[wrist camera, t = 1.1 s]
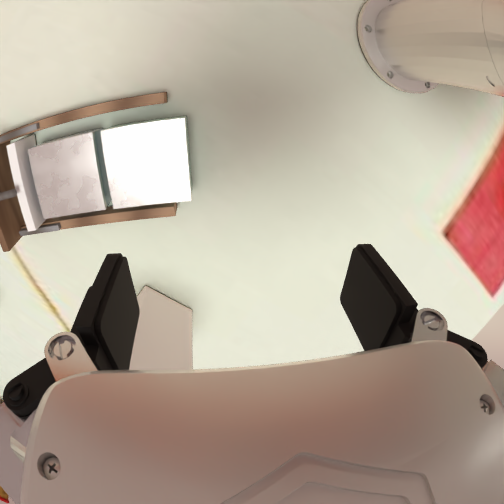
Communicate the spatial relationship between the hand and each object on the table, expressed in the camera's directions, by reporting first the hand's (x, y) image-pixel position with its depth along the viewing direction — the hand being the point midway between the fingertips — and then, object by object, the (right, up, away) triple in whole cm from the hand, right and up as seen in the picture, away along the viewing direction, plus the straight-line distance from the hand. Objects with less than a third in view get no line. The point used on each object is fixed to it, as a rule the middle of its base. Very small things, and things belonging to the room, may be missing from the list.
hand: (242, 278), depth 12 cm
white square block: (-18, +10, +14) cm, 25 cm away
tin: (-9, +10, +15) cm, 21 cm away
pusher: (-23, +9, +13) cm, 28 cm away
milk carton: (-12, -7, +25) cm, 29 cm away
